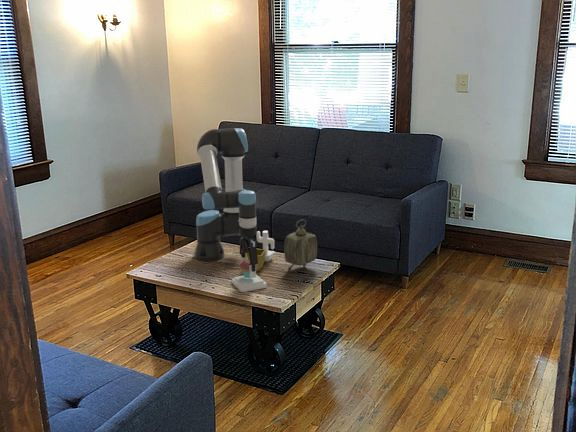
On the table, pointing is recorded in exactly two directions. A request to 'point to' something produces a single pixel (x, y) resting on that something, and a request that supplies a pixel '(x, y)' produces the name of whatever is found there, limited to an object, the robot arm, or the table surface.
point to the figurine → (266, 244)
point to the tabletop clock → (300, 247)
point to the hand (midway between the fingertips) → (248, 274)
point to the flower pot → (260, 257)
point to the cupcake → (246, 267)
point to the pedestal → (248, 283)
